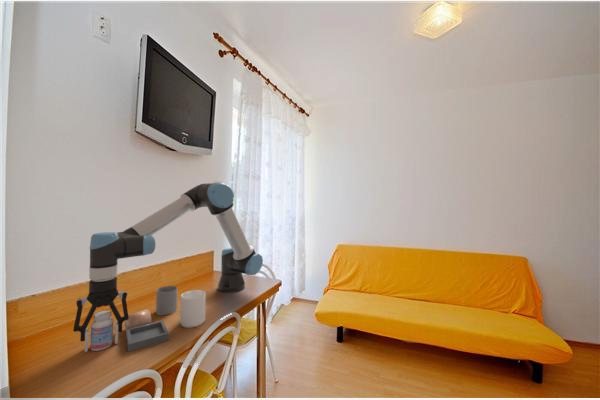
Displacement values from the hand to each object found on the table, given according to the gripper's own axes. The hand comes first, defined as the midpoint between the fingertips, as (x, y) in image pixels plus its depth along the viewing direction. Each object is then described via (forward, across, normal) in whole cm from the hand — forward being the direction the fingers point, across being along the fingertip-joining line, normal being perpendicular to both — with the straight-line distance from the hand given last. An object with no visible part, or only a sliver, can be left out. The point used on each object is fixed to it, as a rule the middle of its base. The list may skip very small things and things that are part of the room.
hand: (101, 345), depth 86 cm
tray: (0, -13, +3) cm, 13 cm away
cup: (+1, -23, -18) cm, 29 cm away
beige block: (0, -11, -8) cm, 14 cm away
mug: (+1, -29, -1) cm, 29 cm away
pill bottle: (+1, 0, 0) cm, 1 cm away
